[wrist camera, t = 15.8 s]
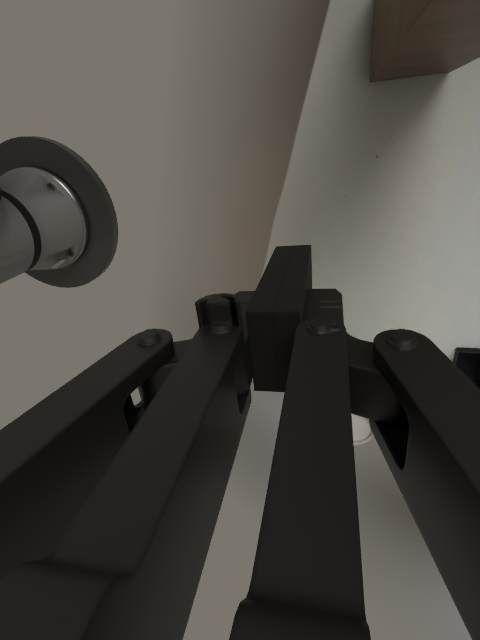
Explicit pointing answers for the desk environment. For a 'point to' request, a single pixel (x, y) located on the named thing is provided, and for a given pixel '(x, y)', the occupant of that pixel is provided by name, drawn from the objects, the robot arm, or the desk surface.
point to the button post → (423, 37)
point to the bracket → (469, 363)
